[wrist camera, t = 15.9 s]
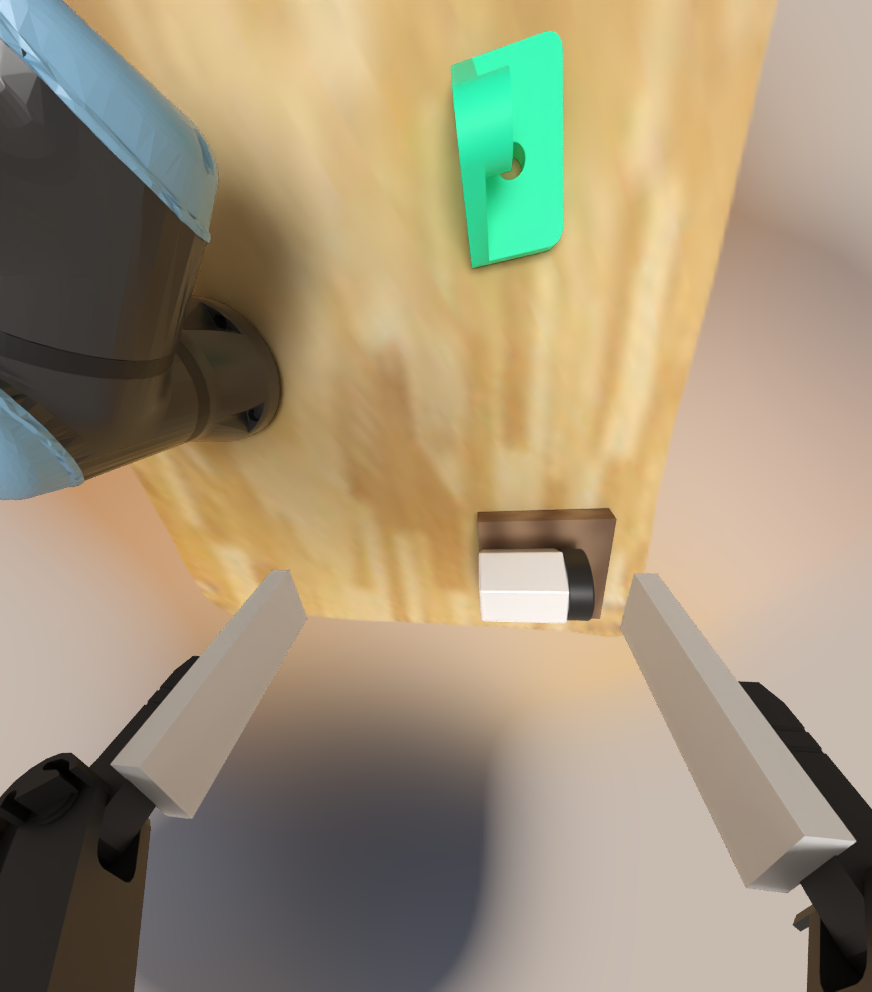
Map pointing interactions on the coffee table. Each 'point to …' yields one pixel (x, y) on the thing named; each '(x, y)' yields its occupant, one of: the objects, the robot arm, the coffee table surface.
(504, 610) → the jar
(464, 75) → the camera mount
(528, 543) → the plinth
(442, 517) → the coffee table surface
